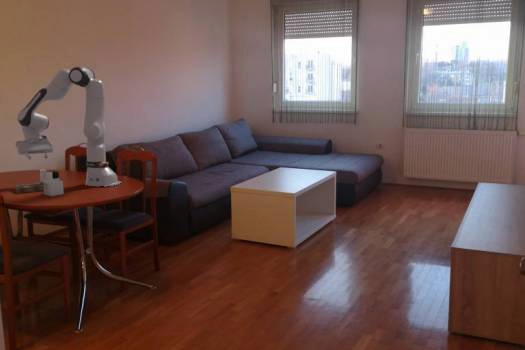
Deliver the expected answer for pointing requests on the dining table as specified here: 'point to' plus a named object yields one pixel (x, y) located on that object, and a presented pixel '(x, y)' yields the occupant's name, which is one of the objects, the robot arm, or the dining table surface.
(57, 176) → the container
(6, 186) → the dining table surface
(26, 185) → the mixing board
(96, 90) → the robot arm
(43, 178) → the fader
